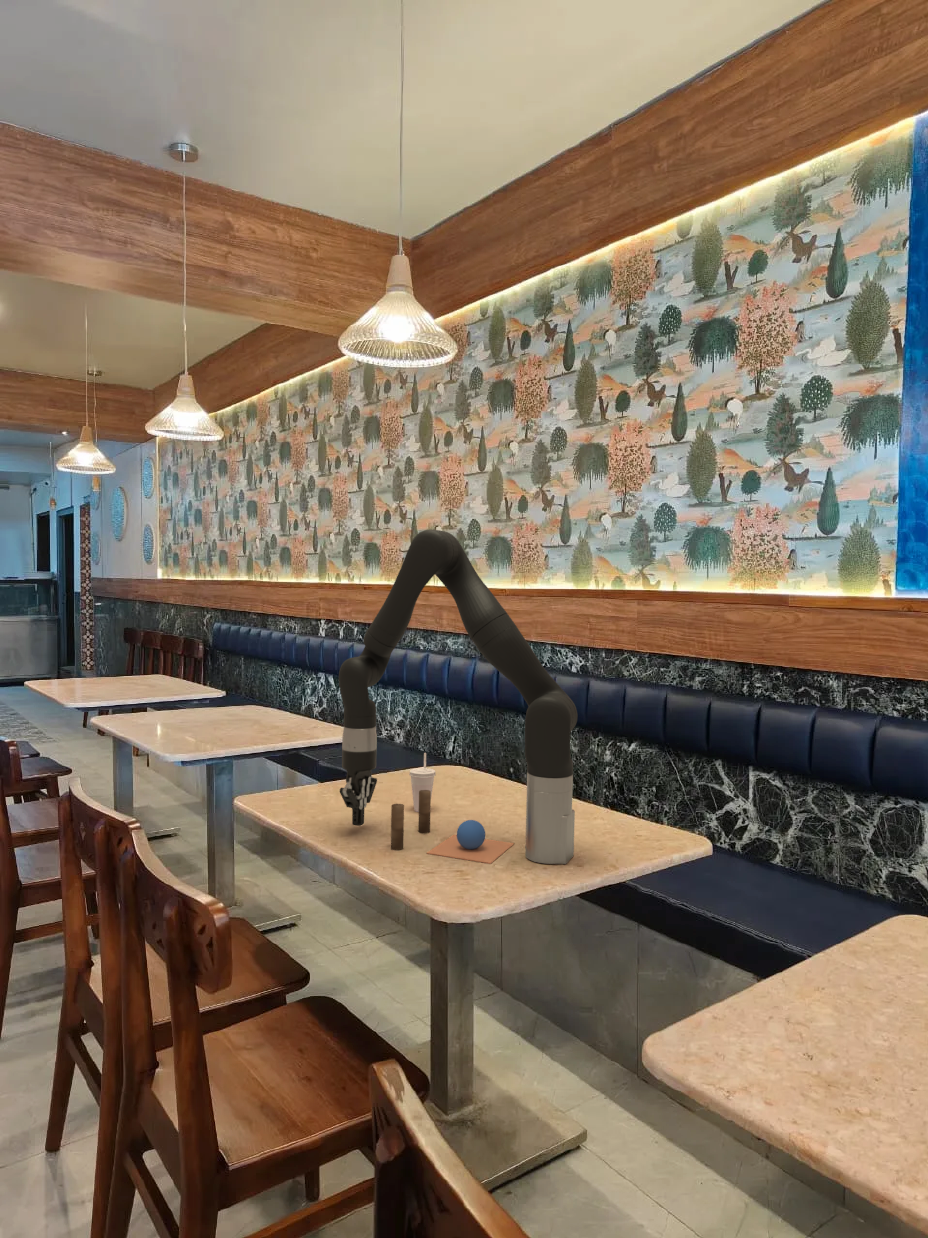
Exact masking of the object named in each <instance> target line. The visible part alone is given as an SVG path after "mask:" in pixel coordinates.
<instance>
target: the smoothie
mask: <svg viewBox="0 0 928 1238" xmlns="http://www.w3.org/2000/svg"><path fill="white" fill-rule="evenodd" d="M436 774H437V773H436V770H435V769H433V768H429V767H428V768H427V753H426V752H424V753H423V767H417V768H411V769H410V770H409V777H410V784H411V791H412V792H411V794H412V801H413V802H412V803H413V811H414V812H416V813H419V791H420V790H429V791H431V797H432V794H433V790H434V789H433V788H434V787H433V786H434V781H435V776H436Z"/></svg>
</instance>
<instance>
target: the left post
mask: <svg viewBox="0 0 928 1238" xmlns="http://www.w3.org/2000/svg"><path fill="white" fill-rule="evenodd" d="M390 807H391V809H390V813H391V815H390V817H391V818H390V820H391V821H390V849H391V850H392V851H401V850H404V826H405V823H404V822H405V821H404V820H405V804H402V803H392V804H391V806H390Z"/></svg>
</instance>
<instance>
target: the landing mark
mask: <svg viewBox="0 0 928 1238" xmlns="http://www.w3.org/2000/svg"><path fill="white" fill-rule="evenodd" d="M514 845H515V843H514V842H508V841H501V840H494V839H487V838H485V840H484V842H483V844H482V845H481V846H480V847H478V848H477V849H472V850H470V849H466V848H464V847H462V846H461V845H460V844H459V842H458V840H457V834H454V833H453V834H452V835H451V836H449V837H448V838H446V839H445V840H443V841H441V842H440V843H439V844H437V845H436V846H434V847H433V848H431V849H430V850H428V851H427V852H426V854H427V855H432V856H438V857H444V858H445V857H446V858H450V859H451V858H452V859H458V860H465V861H469V860H470V861H471V862H476V863H482V864H489V865H491V864H493V863H494V862H495V861H496V860H498V859H499V858H500V857H501V856H502V855H503V854H504V853H506V852H507V851H508V850H509V849H510V848H512V847H513V846H514Z"/></svg>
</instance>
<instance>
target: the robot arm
mask: <svg viewBox="0 0 928 1238" xmlns="http://www.w3.org/2000/svg"><path fill="white" fill-rule="evenodd" d="M434 576H436V577H437V579H439V580H440V582H441V583H442V584H443V586H444V587H445V588H446V590H447V592H448V591H449V593H450V595H451V596H452V598H453V600H454V602H455V604H456V607H457V610H458V613H459V615H460V619H461V622H462V624H463V626H464V628H465V631H466V633H467V635H468V636H469V638H470V639H471V641H472V642H473V644H474V645H475V646H476V648H477V649H478V651H479V652H480V653H481V655H482V656H483V657H484V658H485V659H486V661H487V662H488V663H489V664H490V665H491V666H492V667H494V669H496V670H497V671H498V672H499V673H500V674H502V676H504V677H505V678H506V679H507V680H508V681H509V682H511V683H512V684H513V686H515V688H516V689H517V690H518V692H519V693H520V696H522V698H523V699H524V701H525V703H526V704H527V706H528V707H527V710H526V712H525V713H526V714H525V718H524V719H525V721H524V757H525V761H526V767H527V769H526V770H527V771H526V803H525V804H526V805H525V806H526V809H525V812H526V813H525V814H526V815H525V845H524V849H525V851H524V852H525V853H524V855H525V858H526V859H527V860H530V862H535V863H539V864H545V865H546V864H548V865H549V864H550V865H551V864H552V865H554V864H555V865H558V864H559V865H561V864H562V865H566V864H567V863H568V862H570V860H571V859H572V858H573V857H574V852H575V851H574V849H575V847H574V846H575V818H576V817H575V816H576V815H575V814H576V812H575V809H573V785H574V783H573V782H574V761H573V759H572V756H571V732H572V731H573V730H574V729H575V727H576V725H577V724H578V723H577V722H578V710H577V707H576V705H575V702H574V701H573V700H572V699H571V698H570V696H569V695H568V694H567V693H566V692H565V690H564V689H563V688H562V687H561V686H560V685H559V684H558V683H557V682H556V680H555V679H554V678H553V677H552V676H551V675H550V673H549V672H548V671H547V670H546V669H545V667H544V666H543V664H542V663H541V661H540V660H539V657H537V655H536V654H535V652H534V650H533V649H532V646H531V645H530V644H529V643H528V642H527V640H526V639H525V637H524V635H523V634H522V632H521V631H520V629H519V628H518V626H517V625H516V623H515V621H513V619H512V618H511V616H510V615H509V614H508V612H507V610H505V609H504V607H503V606H502V604H501V603H500V602H499V601H498V599H497V598H496V596H495V595H494V593H493V592H492V591H491V590H490V589H489V588H488V586H487V585H486V583H485V582H484V581H483V580H482V578H481V577H480V575H478V573H477V572H476V570H475V568H474V566H473V563H471V560H470V559H469V557H468V555H467V554H466V552H465V550H464V548H463V546H462V545H461V542H460V541H459V539H457V537H456V536H454V535H453V534H452V533H449V532H448V531H445V530H438V529H431V528H430V529H425V530H422V531H419V533H417V534H416V535H415V536H414V537H413V539H412V541H411V542H410V545H409V547H408V549H407V551H406V554H405V556H404V559H403V561H402V564H401V567H400V569H399V571H398V574H397V576H396V578H395V580H394V583H393V584H392V587H391V588H390V591H389V593H388V595H387V597H386V599H385V601H384V602H383V604H382V606H381V608H380V609H379V610H378V613H376V616H375V617H374V619H373V621H372V622H371V624H370V625H369V627H368V629H367V630H366V632H365V634H364V637H363V645H364V648H363V650H362V652H361V653H360V655H359V656H354V657H353V656H352V657H349V658H347V659H346V660H344V661H343V662H342V664H341V666H340V668H339V672H338V685H339V690H340V696H341V701H342V703H343V709H344V710H343V730H342V737H341V738H342V739H341V741H342V743H341V744H342V746H341V748H342V749H341V750H342V751H341V767H342V769H344V770H345V771H346V776H345V782H346V784H345V785H344V787H340V789H339V794H340V796H341V797H342V800H343V802H344V805H345V806H346V808H350V809H351V810H352V813H351V814H352V815H351V818H352V821H351V824H352V826H358V827H361V826H362V825H364V824H365V808H366V807H367V804H370V803H371V801H372V796H373V795H374V791H375V789H376V786H377V783H378V778H377V777H373V776H372V774H373V772H372V770H375V769H376V768H377V757H378V756H377V753H378V751H377V749H378V748H377V746H378V744H377V743H378V742H377V741H378V740H377V739H378V738H377V737H378V736H377V706H376V703H375V701H373V700H372V699H370V696H369V687H373V686H375V685H377V683H378V682H379V681H380V680H381V679H382V678H383V675H384V674H385V671H386V670H387V667H388V664H389V661H390V659H391V656H392V653H393V651H394V650H395V649H396V647H397V645H398V643H399V642H400V641H401V639H402V637H403V635H404V633H405V631H407V628H408V627H409V623H410V621H411V619H412V615H413V614H414V613H413V612H414V609H415V606H416V603H417V601H418V599H419V597H420V595H421V593H422V591H423V590H424V588H425V587H426V586H427V584H428V583H429V581H430V580H431V579H432V578H433V577H434Z"/></svg>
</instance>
